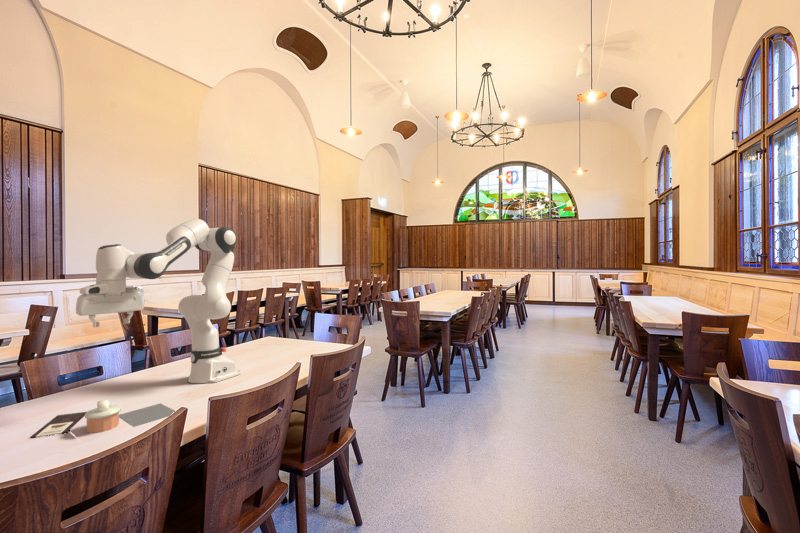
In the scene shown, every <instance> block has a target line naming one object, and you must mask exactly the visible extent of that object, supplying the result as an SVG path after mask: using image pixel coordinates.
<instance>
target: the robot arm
mask: <svg viewBox="0 0 800 533" xmlns="http://www.w3.org/2000/svg"><path fill="white" fill-rule="evenodd" d="M165 240H166V243H167V245H166V246H164V248H162V249H160V250H159V251H155V252H146V253H137V252H134V251H132V250H129V249H128V248H126V247H124V245H123V244H120V243H116V244H115V243H114V244H106V245H102V246H100V247H98V248H97V251H96V256H95V270H96V273H97V274H96V279H95V284H90V285H88V286H84V287H81V288H79V293H80V295H79V296H78V297H77V298H76V304H75V313H76V314H77V315H78V316H81V317H84V316H88V318H89V320H90V321H91V322H92V327H93V328H100V321H96V320H95V318H96V315H103V314H117V313H126V314H127V316H126V318H123V324H124V325H126V324H127V325H128V324H130V323H131V318H132V317H133V315H134V312H136V311H143V309H144V308H145V302H144V298H143V297H144V289H143V288H142V287H140V286H127V278H129V279H146V280H156V279H159V278H160V277H162V275H164V273H165V272H166V270H167V269H168V268H169V267H170V266H171V264H172V263H174V262H176V261H177V260H178V259H180V258H181V257H182V256H183V255H185V253H187V252H188V251H190V250H191V249H192V248H194V247H195V249H196V250H198V251H200V252H210V259H209V261H208V263H207V266H206V268H205V271H204V273H203V276H202V278H201V283H202V285H203V286H204V287H205V291H204V294H202V295H201V294H193V295H189V296H185V297H183V298H182V299H180V301H179V303H178V309H177V310H178V312H179V314H180V315H181V317H182V316H183V318H184V319H185V321H186V323H187V325H188V327H189V330H190V337H191V350H190V362H191V364H190V365H191V366H190V371H189V377H188V379H187V382H189V383H190V384H208V383H209V384H212V383H214V384H215V383H218V382H222V381H224V380H227V379H230V378H234V377H236V376H239V375H241V374H242V371H241V370H240V369H237V366H236V363H235V361H234V360H233V359H231V358H229V357H227V355H225V354H223V353H226V352H227V348H226V347H220V346H219V331H218V329H217V328H216V327H215V326H214V325H213V324H212V322H211V320H221V319H225V318H227V317H228V315H229V314H230V312H231V310H232V304H231V301H230V300H229V299H228V297H227V285H228V282H229V279H230V277H231V274H232V271H233V268H234V262H235V254H234V253H233V251H234V250H235V247H236V243H237V235H236V232H235V231H234V230H233V229H232V228H230V227H226V226H221V227H209V225H208V224H207V222H206V221H204V220H203V219H200V218H193V219H190V220H187V221H184V222H182V223H180V224H178V225H176V226H175V227H173V228H171V229H170V230H169V231H168V232H166V236H165Z"/></svg>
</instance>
